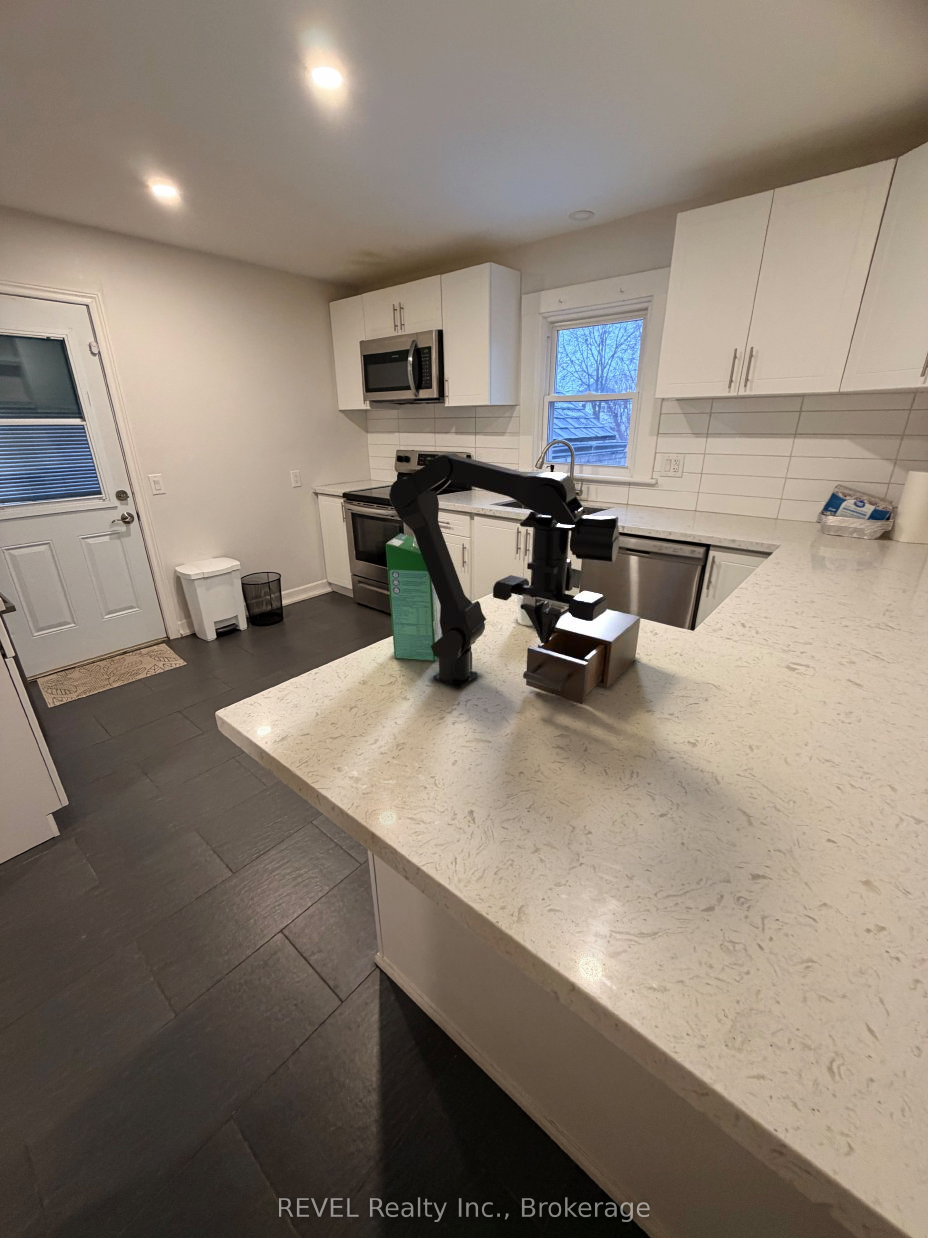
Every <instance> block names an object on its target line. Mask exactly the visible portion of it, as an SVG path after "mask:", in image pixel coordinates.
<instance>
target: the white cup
mask: <svg viewBox="0 0 928 1238" xmlns="http://www.w3.org/2000/svg"><path fill="white" fill-rule="evenodd" d="M515 596H516V608H517V609H516V610H517V621H518V623H519V624H520V625H522V626H523V625H524V626H528V627H534V626H533V624H532V622H531V620H530V619H529V617H528V615H527V614H526V612H525V610H523V609H521V608H520V606H521V605H522V604H523V597H522V596H521V595H516V594H515Z"/></svg>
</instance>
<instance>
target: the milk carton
mask: <svg viewBox="0 0 928 1238" xmlns="http://www.w3.org/2000/svg"><path fill="white" fill-rule="evenodd" d="M385 553H386V568H387V580H388V592H389V605H390V616H391V617H390V619H391V630H392V642H393V643H392V644H393V645H392V646H393V655H394V656H393V657H394V658H396V659H407V660H421V661H422V660H423V661H430V662H431V661H436V660H437V658H438V657H435V656H434V654H433V652H432V649H431V645H433V644H434V643H435V642H436V641H437V640H438V639H440V638H441V637H442V632H441V627H440V608H441V607H440V602H439V600H438V597H437V594H436V592H435V589H434V586H433V584H432V581H431V579H430V576H429V573H428V571H427V568H426V565H425V563H424V560H423V557H422V555H421V552H420V549H419V547H418V544H417V542H416V539H415V536H412V535H407V534H404V533H399V534H397V535H396V536H395V537H393V538H392V539H390V540H389V541H388V542H386V543H385Z"/></svg>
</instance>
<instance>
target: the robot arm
mask: <svg viewBox="0 0 928 1238" xmlns="http://www.w3.org/2000/svg"><path fill="white" fill-rule="evenodd" d="M451 482H454V483H458V484H462V485H465V486H469V487H473V488H476V489H480V490H483V491H487V492H491V493H493V494H498V495H501V496H503V497H507V498H510V499H512V500H514V501H516V502H517V503H518V504H520V505H521V506H522V507H524V508H526V509H528V510H530V512H529V514H528V515H527V516H526V518H524V519H523V520H522V521H521V522H520V523H519V526H520V527H522V528H532V544H531V545H532V546H531V560H530V561H528V562H527V563H526V569H527V570H530V580H528V578H526V577H522V576H517V575H512V574H509V575H508V576H505V577H503V578H501V579H499V580H497V581H496V582H494V584H493V586H492V598H494V599H498V600H501V601H505V602H506V601H508V600H509V599H510V598H512V596H513V595H515V596H516V595H521V596H522V597H523V604H522V605H521V606H520V608H521V609H523V610H525V612H526V614H527V615H528V617H529V619H530V620H531V622H532V624H533V626H532V627H533V628H534V630H535V633H536V635H537V636H538V638H539V641H540V643H543V644H547V643H548V642H549V640H550V638H551V635H552V633H553V631H554V629H555V627H556V624H557V622H558V621H559V619H561V618H562V617H563V616H565V615H566V614H568V613H569V614H570V615H571V616H572V618H576V619H580V620H584V621H593V620H595V619H596V618H597V617H599V616H600V615H602V614H603V613H604V612H606V609H608V600H607V598H606V597H605V595H604V594H600V593H596V592H592V591H587V590H583V591H582V592H580V593H578V594H576V595H573V594H570V593H566V592H571V591H572V590H573V588H574V589H580V588H581V587H580V586H581V583H582V578H583V573H584V570H581V569H576V568H572V565H573V563H572V559H569V551H570V552H571V555H572V556H575V558H576V560H585V561H593V562H602V563H612V564H614V563H615V562H616V559H617V557H618V552H619V547H620V540H621V535H620V526H619V516H617V515H616V516H615V515H614V516H613V515H608V516H596V515H588V511H586V508H585V507H584V505H583V504H582V502H581V500H580V499H579V498H578V496H577V494H576V493H577V490H576V484H575V482H574V480H573V479H572V478H571V476H569V475H568V474H566V473H563V472H551V471H550V472H549V471H520V470H516V469H512V468H508V467H504V466H500V465H497V464H493V463H489V462H484V461H481V460H476V459H473V458H469V457H465V456H461V455H459V454H458V453H456V452H449V453H443V454H439V455H437V456H435V457H434V459H432V460H431V461H430V462H429V463H427V464H425V465H424V466H422V467H421V468H419V469H418V470H415V471H414V472H412V473H411V474H410V475H408V476H407V477H406V476H405V477H402V478H398V479H396V480H395V481H394V482H393V483H392V485H391V487H390V490H389V491H388V497H389V502H390V503H391V505H392V508H393V510H394V511H395V513H396V514H397V517H398V518H399V519H400V520H401V522H402V523H404V525H406V526H407V528H408V529H410V530H411V532H412V534H413V537H415V539H416V542H417V544H418V547H419V549H420V552H421V555H422V557H423V560H424V563H425V565H426V568H427V571H428V573H429V576H430V579H431V581H432V584H433V586H434V589H435V592H436V594H437V597H438V600H439V602H440V607H441V608H440V627H441V632H442V637H441V638H440V639H438V640H437V641H436V642H435V643H434V644H433V645H431V649H432V652H433V654H434V656H435V657H437V658H438V673H436V674H435V675H433V677H432V678H433V680H434V681H437V682H439V683H442V684H444V685H447V686H449V687H452V688H455V689H461V688H462V687H464V686H465V685H467V684H468V683H470V682H472V681H473V680H475V678H477V677H478V676H479V673H478V672H476V671H473V651H472V645H474V644H475V643H476V642H477V640H478V639H479V638H480V637H481V636H482V635H483V634H484V632H485V629H486V624H485V622H486V620H487V618H486V616H485V615H484V613H483V611H482V605H481V603H480V601H479V600H476V601H473V602H472V601H471V600H470V599H469V598H468V597H467V596H466V594H465V592H464V589H463V586H462V584H461V581H460V578H459V576H458V572H457V569H456V567H455V564H454V562H453V559H452V556H451V554H450V550H449V547H448V546H447V543H446V540H445V537H444V534H443V531H442V528H441V526H440V524H439V514H440V513H439V511H440V503H439V497H438V493H440V492H441V491H442V490H443V489H444V488H446V487H447V486H448V485H449V484H450V483H451Z"/></svg>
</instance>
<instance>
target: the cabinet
mask: <svg viewBox="0 0 928 1238" xmlns="http://www.w3.org/2000/svg"><path fill="white" fill-rule="evenodd" d="M641 618H642V617H641V616H638V615H635V614H630V613H625V612H621V611H617V610H612V609H608V608H607V609H606V612H604V613H603V614H602V615H600V616H599V617H597V618H596V619H595V620H593V621H584V620H580V619H576V618H572V616H571V615H570V614H569V612H567V613H566V614H564V615H563V616H561V617H560V619H559V621H558V622H557V624H556V627H555V629H554V631H553V633H552V635H553V634H554V633H556V632H557V631H558V632H562V633H566V634H570V635H573V636H577V637H581V638H585V639H588V640H592V641H596V642H600V643H604V644H607V654H606V663H605V673H604V678H603V679H602V680H601V681H600V682H599V683H598V684H597V685H596V686H599V687H603V688H606V689H608V688H609V687H610V686H611V684H613V683H614V681H615V680H617V678H618V677H619V676H620V675H621V674H622V673H623V672H625V670H626V669H627V668H628V667H629V666H630V665H631V664H632V663H633V662H634V661H635V660H636V655H637V649H638V640H639V633H640V625H641Z"/></svg>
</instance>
